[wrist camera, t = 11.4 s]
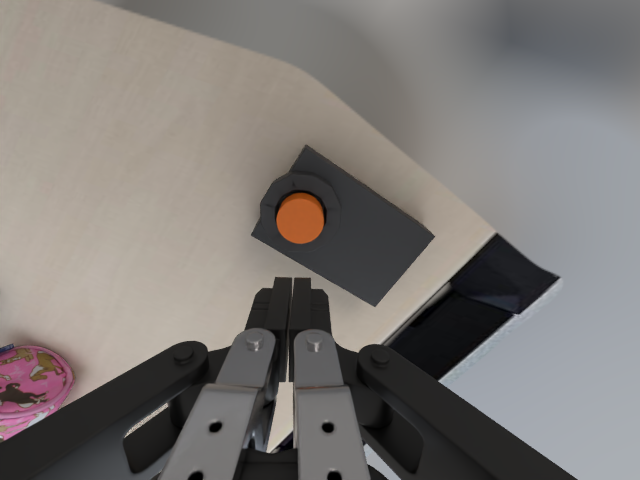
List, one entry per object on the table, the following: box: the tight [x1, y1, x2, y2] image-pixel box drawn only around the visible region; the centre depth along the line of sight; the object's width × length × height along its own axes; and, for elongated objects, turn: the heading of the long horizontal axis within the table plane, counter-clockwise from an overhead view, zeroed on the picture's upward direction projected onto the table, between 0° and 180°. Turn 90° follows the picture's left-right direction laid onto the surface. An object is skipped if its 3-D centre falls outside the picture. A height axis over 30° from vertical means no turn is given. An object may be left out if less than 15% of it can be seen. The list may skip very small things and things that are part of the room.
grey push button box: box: [251, 145, 435, 307], centre depth 28 cm, size 15×9×5 cm, turn 56°
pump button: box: [276, 193, 324, 244], centre depth 24 cm, size 4×4×2 cm
